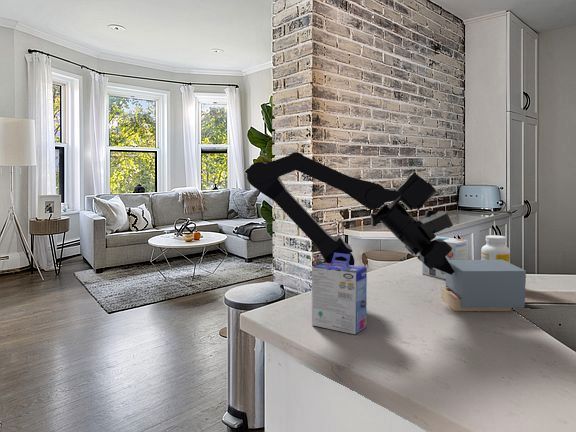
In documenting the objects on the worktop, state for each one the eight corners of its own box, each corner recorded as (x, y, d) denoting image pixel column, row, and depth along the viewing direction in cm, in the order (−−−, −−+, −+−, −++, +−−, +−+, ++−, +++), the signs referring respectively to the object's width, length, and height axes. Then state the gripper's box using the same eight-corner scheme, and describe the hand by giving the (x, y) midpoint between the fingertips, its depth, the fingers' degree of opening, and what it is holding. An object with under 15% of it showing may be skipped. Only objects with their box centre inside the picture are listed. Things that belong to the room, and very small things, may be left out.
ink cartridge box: (368, 326, 81) (368, 254, 80) (357, 336, 77) (356, 260, 75) (324, 317, 87) (323, 250, 85) (311, 326, 82) (310, 255, 80)
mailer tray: (453, 310, 89) (454, 299, 89) (441, 297, 98) (441, 287, 98) (511, 310, 88) (511, 299, 88) (493, 297, 97) (493, 287, 97)
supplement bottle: (511, 284, 108) (513, 236, 106) (504, 290, 103) (506, 239, 102) (485, 280, 112) (486, 233, 111) (476, 285, 108) (478, 237, 106)
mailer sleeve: (461, 307, 88) (462, 271, 87) (445, 292, 98) (446, 260, 98) (524, 307, 87) (526, 270, 86) (501, 292, 98) (502, 259, 97)
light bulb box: (421, 274, 120) (421, 238, 119) (434, 270, 124) (435, 235, 123) (455, 281, 111) (456, 242, 110) (468, 277, 115) (469, 239, 114)
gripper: (442, 202, 82) (497, 256, 82) (418, 196, 100) (463, 240, 101) (401, 242, 83) (456, 294, 84) (385, 229, 102) (430, 272, 102)
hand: (452, 272), depth 92 cm, fingers closed, pressing on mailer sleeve
